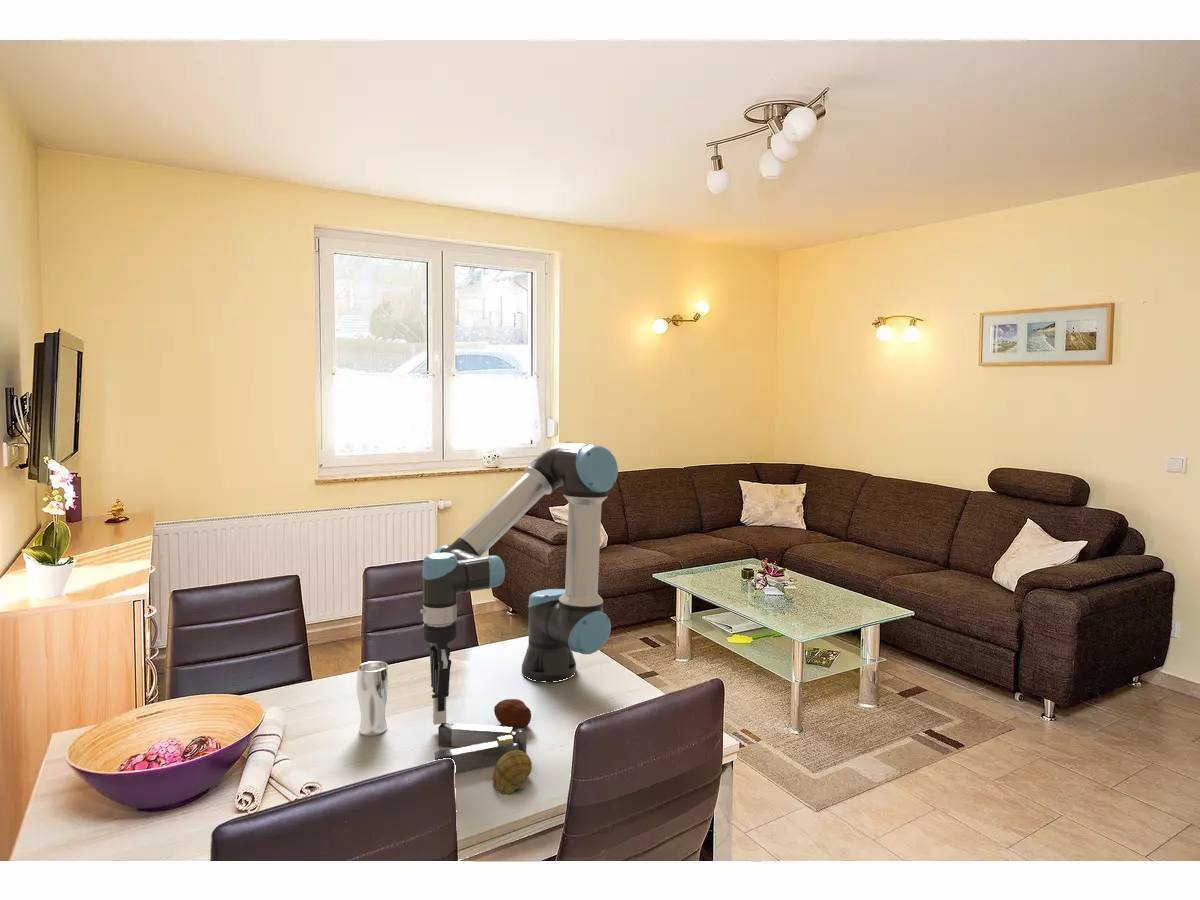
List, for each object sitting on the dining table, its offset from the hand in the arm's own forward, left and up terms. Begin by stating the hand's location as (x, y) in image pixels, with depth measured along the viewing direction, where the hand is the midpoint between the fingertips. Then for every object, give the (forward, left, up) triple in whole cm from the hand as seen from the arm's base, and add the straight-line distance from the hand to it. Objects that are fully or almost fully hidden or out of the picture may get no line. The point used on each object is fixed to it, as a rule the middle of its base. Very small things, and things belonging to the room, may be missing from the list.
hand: (439, 722), depth 164 cm
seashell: (-9, +27, -2) cm, 29 cm away
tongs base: (-5, +18, -2) cm, 19 cm away
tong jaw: (-6, +11, -2) cm, 12 cm away
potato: (-16, +4, -2) cm, 17 cm away
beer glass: (+14, -6, -2) cm, 15 cm away
